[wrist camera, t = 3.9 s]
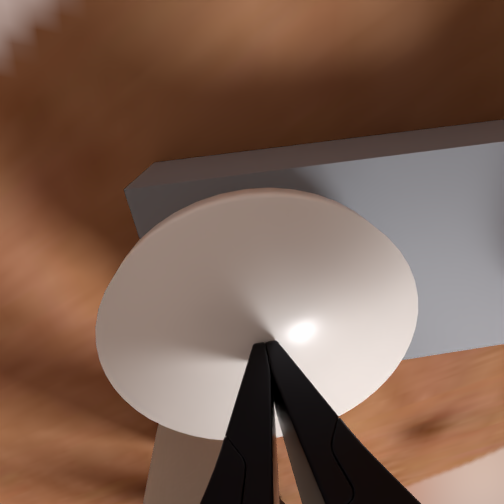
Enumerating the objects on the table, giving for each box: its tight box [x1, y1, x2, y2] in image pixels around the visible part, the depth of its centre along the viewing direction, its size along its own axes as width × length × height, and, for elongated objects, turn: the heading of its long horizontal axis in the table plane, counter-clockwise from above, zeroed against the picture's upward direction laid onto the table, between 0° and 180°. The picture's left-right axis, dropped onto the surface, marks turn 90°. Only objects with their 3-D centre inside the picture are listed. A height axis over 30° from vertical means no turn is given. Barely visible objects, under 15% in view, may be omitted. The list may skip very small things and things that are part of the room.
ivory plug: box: [96, 188, 418, 440], centre depth 13 cm, size 11×11×6 cm
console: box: [124, 119, 504, 360], centre depth 15 cm, size 28×11×5 cm, turn 96°
